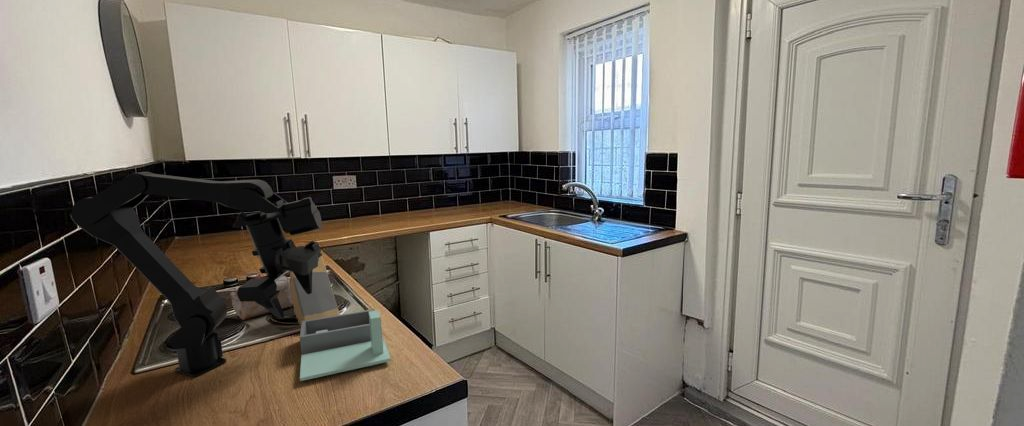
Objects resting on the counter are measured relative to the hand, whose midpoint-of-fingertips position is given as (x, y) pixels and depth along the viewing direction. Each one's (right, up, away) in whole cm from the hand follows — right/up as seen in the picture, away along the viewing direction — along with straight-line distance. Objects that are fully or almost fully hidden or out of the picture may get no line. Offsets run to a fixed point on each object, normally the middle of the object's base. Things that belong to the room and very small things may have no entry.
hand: (296, 305), depth 92 cm
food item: (-20, -7, +23) cm, 31 cm away
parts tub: (+8, -9, +5) cm, 13 cm away
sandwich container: (-3, -8, +16) cm, 18 cm away
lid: (+12, -11, -4) cm, 17 cm away
